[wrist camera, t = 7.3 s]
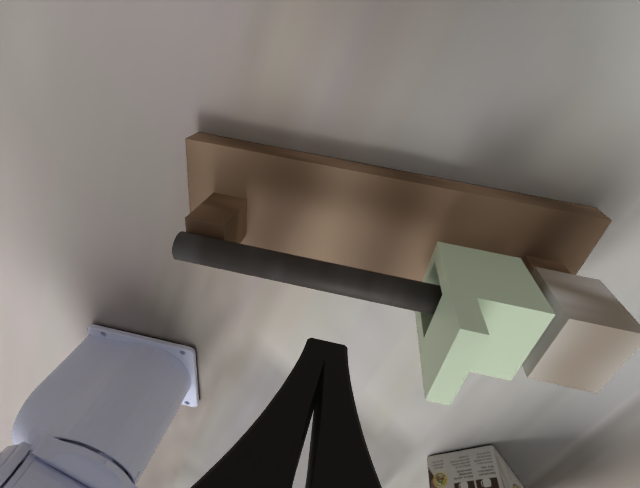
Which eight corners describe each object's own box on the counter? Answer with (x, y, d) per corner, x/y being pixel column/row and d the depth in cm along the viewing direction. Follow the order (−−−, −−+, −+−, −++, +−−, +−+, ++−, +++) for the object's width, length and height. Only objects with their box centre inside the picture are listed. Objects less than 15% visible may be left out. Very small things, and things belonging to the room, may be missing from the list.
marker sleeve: (414, 302, 19) (425, 400, 14) (437, 241, 17) (459, 328, 12) (487, 318, 19) (526, 423, 14) (520, 258, 17) (580, 354, 12)
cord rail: (203, 249, 24) (139, 322, 18) (198, 132, 20) (112, 174, 13) (527, 318, 22) (581, 424, 16) (595, 207, 18) (704, 294, 12)
